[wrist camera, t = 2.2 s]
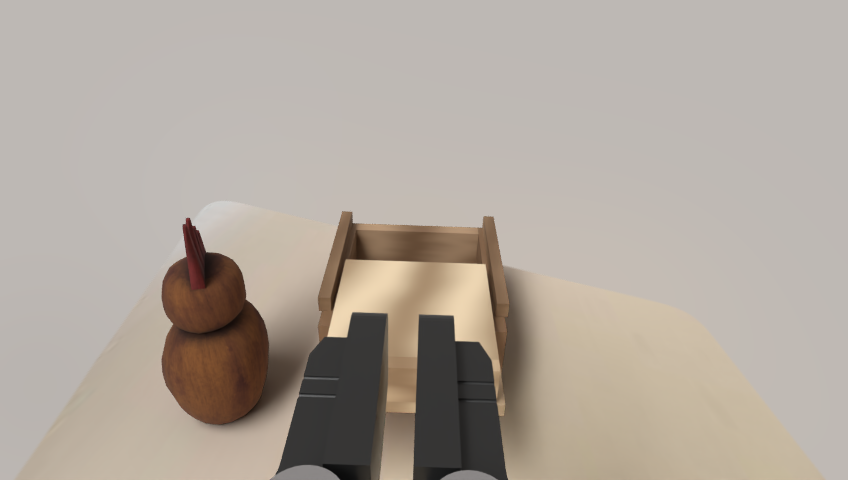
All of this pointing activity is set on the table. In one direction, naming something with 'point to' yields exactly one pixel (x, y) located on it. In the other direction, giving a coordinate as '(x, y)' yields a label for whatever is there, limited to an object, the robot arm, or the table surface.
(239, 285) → the wooden figurine
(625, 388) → the table surface
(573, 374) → the table surface
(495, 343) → the lid
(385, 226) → the light wooden box
